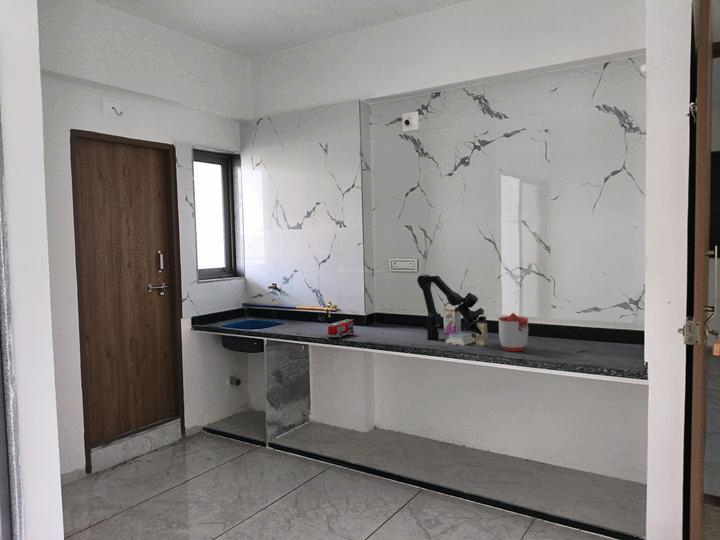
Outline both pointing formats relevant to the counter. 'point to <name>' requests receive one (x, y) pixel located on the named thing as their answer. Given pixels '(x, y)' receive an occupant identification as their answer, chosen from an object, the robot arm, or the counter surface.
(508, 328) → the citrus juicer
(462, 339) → the tower base
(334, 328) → the toy fire truck
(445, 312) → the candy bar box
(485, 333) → the birch block
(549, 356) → the counter surface
